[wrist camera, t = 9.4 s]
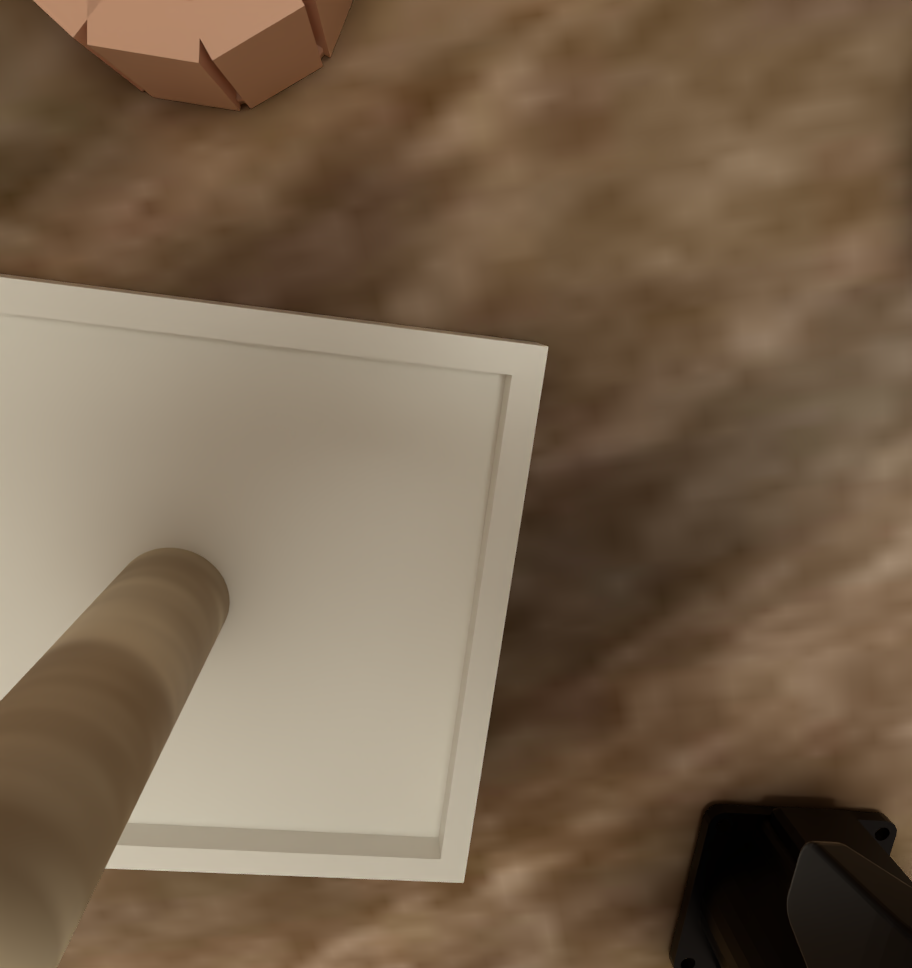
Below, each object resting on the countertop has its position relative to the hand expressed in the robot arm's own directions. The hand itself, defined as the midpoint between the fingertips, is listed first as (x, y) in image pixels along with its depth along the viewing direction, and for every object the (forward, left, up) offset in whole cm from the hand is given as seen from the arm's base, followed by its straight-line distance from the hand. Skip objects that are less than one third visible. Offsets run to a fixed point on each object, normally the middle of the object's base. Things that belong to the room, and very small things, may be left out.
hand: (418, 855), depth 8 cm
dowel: (-3, +6, -12) cm, 14 cm away
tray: (-3, +6, -13) cm, 15 cm away
